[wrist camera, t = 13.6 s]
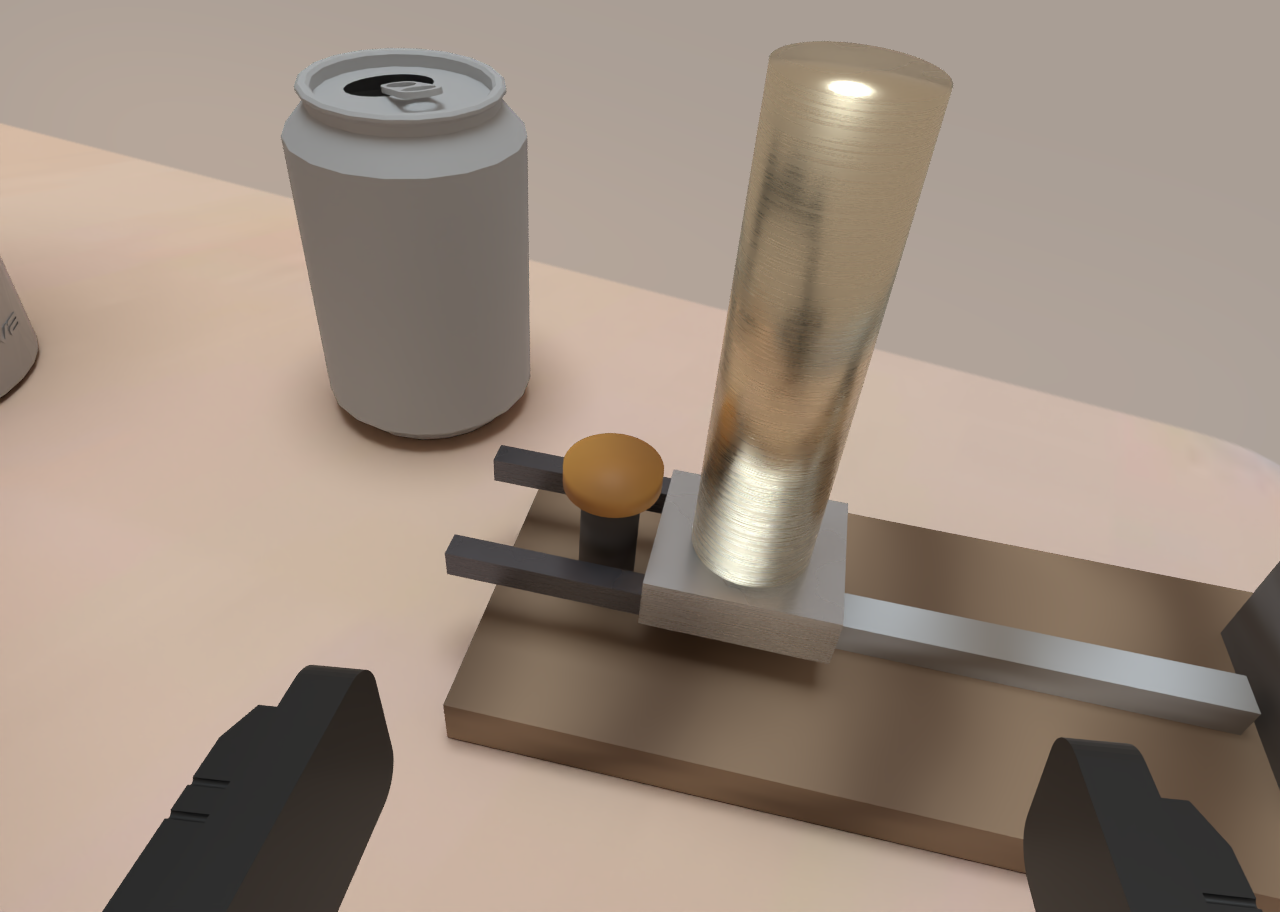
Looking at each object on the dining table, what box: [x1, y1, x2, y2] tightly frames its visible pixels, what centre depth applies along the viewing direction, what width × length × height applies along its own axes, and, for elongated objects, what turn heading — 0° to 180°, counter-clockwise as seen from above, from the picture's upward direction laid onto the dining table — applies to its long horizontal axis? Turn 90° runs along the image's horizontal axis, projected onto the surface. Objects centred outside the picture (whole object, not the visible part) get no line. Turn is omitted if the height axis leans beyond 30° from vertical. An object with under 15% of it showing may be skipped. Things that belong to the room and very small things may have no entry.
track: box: [443, 433, 1280, 912], centre depth 23 cm, size 23×10×6 cm, turn 78°
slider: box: [445, 41, 953, 664], centre depth 20 cm, size 10×4×14 cm, turn 78°
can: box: [281, 48, 530, 439], centre depth 30 cm, size 8×8×12 cm
